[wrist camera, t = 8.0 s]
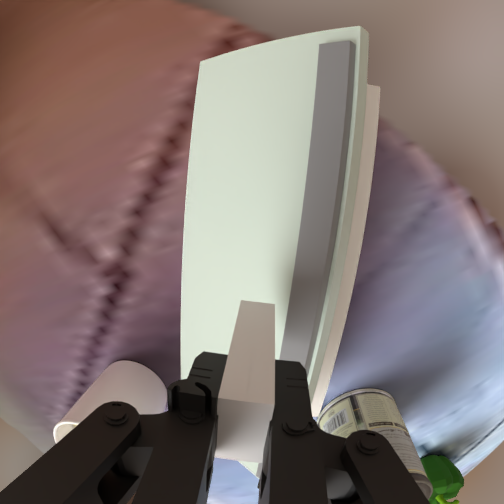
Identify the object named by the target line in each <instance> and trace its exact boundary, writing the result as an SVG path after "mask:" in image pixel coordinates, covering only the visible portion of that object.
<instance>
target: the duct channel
mask: <svg viewBox="0 0 504 504" xmlns="http://www.w3.org/2000/svg"><path fill="white" fill-rule="evenodd" d="M380 89H381V87H379V86H375V85H370V84H367V94H366V107H365V120H364V131H363V141H362V150H361V159H360V168H359V176H358V183H357V191H356V198H355V205H354V212H353V218H352V224H351V231H350V237H349V242H348V248H347V254H346V259H345V265H344V270H343V275H342V280H341V285H340V290H339V295H338V300H337V304H336V309H335V313H334V318H333V322H332V327H331V331H330V335H329V339H328V344H327V348H326V352H325V356H324V360H323V364H322V367H321V371H320V375H319V379H318V382H317V386H316V390H315V393H314V397H313V400H312V404H311V411H312V417H319V414H320V411H321V408H322V404H323V401H324V398H325V395H326V391H327V388H328V385H329V381H330V378H331V374H332V371H333V367H334V364H335V360H336V356H337V353H338V349H339V345H340V341H341V338H342V334H343V330H344V326H345V321H346V317H347V313H348V309H349V304H350V300H351V296H352V291H353V286H354V282H355V277H356V272H357V267H358V262H359V257H360V252H361V246H362V241H363V235H364V229H365V223H366V217H367V211H368V204H369V197H370V190H371V183H372V175H373V167H374V159H375V150H376V140H377V130H378V118H379V105H380Z"/></svg>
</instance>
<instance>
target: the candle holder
mask: <svg viewBox="0 0 504 504" xmlns="http://www.w3.org/2000/svg"><path fill="white" fill-rule="evenodd" d="M111 401H122V402H125V403H128V404H130V405H132V406H133V407H135V408H136V410H137V411H138V413H139V414H160V413H163V412H164V411H165V407H166V404H167V390H166V388H165V385H164V384H163V382H162V380H161V379H160V378H159V377H158V376H157V375H156V374H155V373H154V372H153V371H152V370H150V369H149V368H147V367H146V366H144V365H142V364H139V363H137V362H133V361H127V360H121V361H116V362H114V363H112V364H110V365H109V366H108V367H107V368H106V369H105V370H104V371H103V372H102V373H101V374H100V375H99V377H98V378H97V379H96V380H95V381H94V382H93V383H92V385H91V386H90V387H89V388H88V389H87V390H86V391H85V393H84V394H83V395H82V396H81V397H80V398H79V400H78V401H77V402H76V403H75V404H74V405H73V407H72V408H71V409H70V410H69V411H68V412H67V414H66V415H65V416H64V417H63V418H62V419H61V420H60V421H59V422H58V423H57V424H56V425H55V427H54V430H53V435H54V439H55V442H56V444H57V443H58V442H59V441H60V440H61V439H62V438H63V437H65V436H66V435H67V434H68V433H69V432H70V431H71V430H73V429H74V428H75V427H76V426H77V425H78V424H79V423H80V422H82V421H83V420H84V419H85V418H86V417H87V416H88V415H90V414H91V413H92V412H93V411H94V410H95V409H96V408H97V407H99V406H101V405H102V404H104V403H107V402H111Z"/></svg>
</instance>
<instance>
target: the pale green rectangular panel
mask: <svg viewBox="0 0 504 504" xmlns="http://www.w3.org/2000/svg"><path fill="white" fill-rule="evenodd" d="M368 55H369V33H368V32H367V31H366V30H365V29H364V28H363V27H361V26H354V27H345V28H338V29H331V30H324V31H319V32H313V33H307V34H302V35H297V36H292V37H287V38H283V39H278V40H274V41H270V42H266V43H262V44H258V45H254V46H250V47H246V48H243V49H239V50H236V51H232V52H229V53H226V54H222V55H219V56H216V57H213V58H210V59H207V60H204V61H201V62H200V68H199V75H198V83H197V90H196V98H195V107H194V115H193V124H192V134H191V143H190V154H189V165H188V176H187V189H186V203H185V218H184V235H183V256H182V284H181V380H182V379H187V377H188V376H189V372H190V370H191V368H192V364H193V362H194V359H195V358H196V357H197V356H198V355H199V354H201V353H202V352H203V351H205V352H212V353H219V354H226V355H228V353H229V349H230V345H231V340H232V336H233V332H234V328H235V324H236V319H237V315H238V311H239V307H240V302H241V300H245V301H253V302H262V303H270V304H275V359H276V360H286V361H298V362H300V363H301V364H302V365H303V367H304V368H305V369H306V372H307V381H308V389H309V395H310V403H311V404H312V400H313V397H314V393H315V390H316V386H317V382H318V379H319V375H320V371H321V367H322V364H323V360H324V356H325V352H326V348H327V344H328V339H329V335H330V331H331V327H332V322H333V318H334V313H335V309H336V304H337V300H338V295H339V290H340V285H341V280H342V275H343V270H344V265H345V259H346V254H347V248H348V242H349V237H350V231H351V224H352V218H353V212H354V205H355V198H356V191H357V183H358V176H359V168H360V159H361V150H362V141H363V131H364V120H365V107H366V94H367V75H368ZM239 462H240V463H241V464H242V465H243V466H244V467H246V468H247V469H248V470H249V471H250V472H251V473H253V474H254V475H255V476H256V477H257V478H259V479H260V475H261V471H262V466H263V461H262V463H256V462H246V461H239Z"/></svg>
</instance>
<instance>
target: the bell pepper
mask: <svg viewBox="0 0 504 504" xmlns="http://www.w3.org/2000/svg"><path fill="white" fill-rule="evenodd" d="M421 463H422V465H423V468H424V470H425V473H426V475H427V477H428V479H429V480H430V482H431V484H432V486H433V493H432V495H431V497H430V498H429V500H428V501H429V502H430V504H458V503H459V501H458V500H454V501H453V502H447V501H446V500H448V499H451V498H453V497H456V496H457V494H458V492H459V490H460V488H461V487H463V486H464V479H463V476H462V474H461V472H460V471H459V470H458V468H457V467H456V466H455V465H454V464H453V463H452V462H451V461H450V460H449V459H448V458H446V457H444V456H441V455H440V456H436V455H429V456H427V457H424V458H422V459H421Z"/></svg>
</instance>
